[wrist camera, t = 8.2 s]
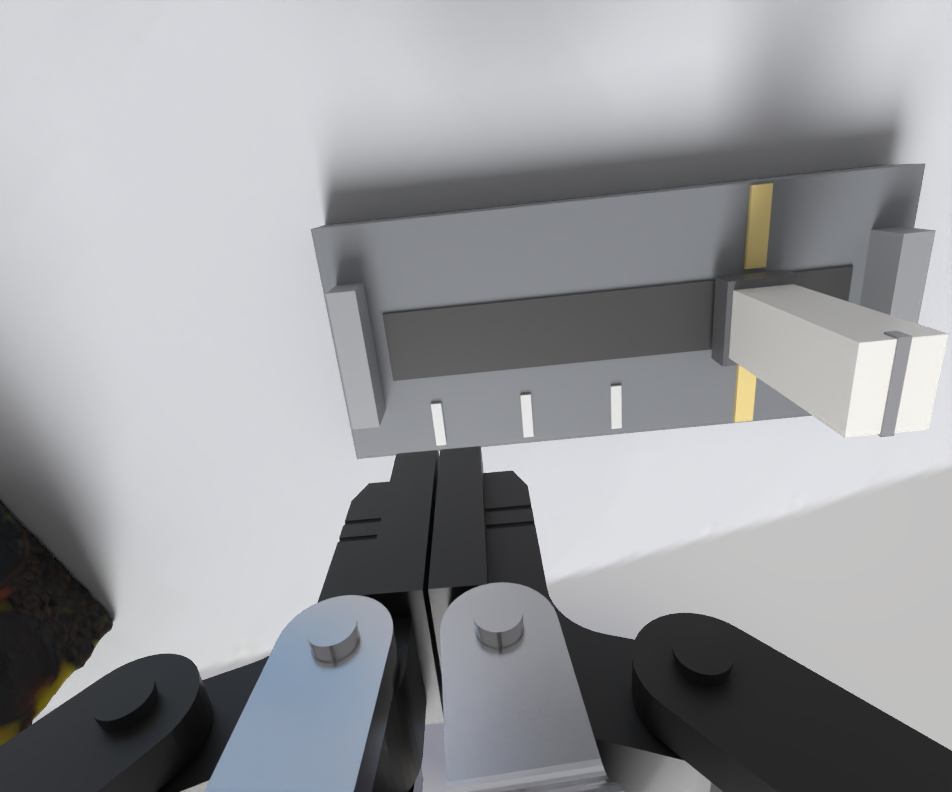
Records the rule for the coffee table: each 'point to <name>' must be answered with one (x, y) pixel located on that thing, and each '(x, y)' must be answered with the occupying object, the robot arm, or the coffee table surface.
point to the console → (595, 304)
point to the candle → (39, 626)
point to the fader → (829, 353)
